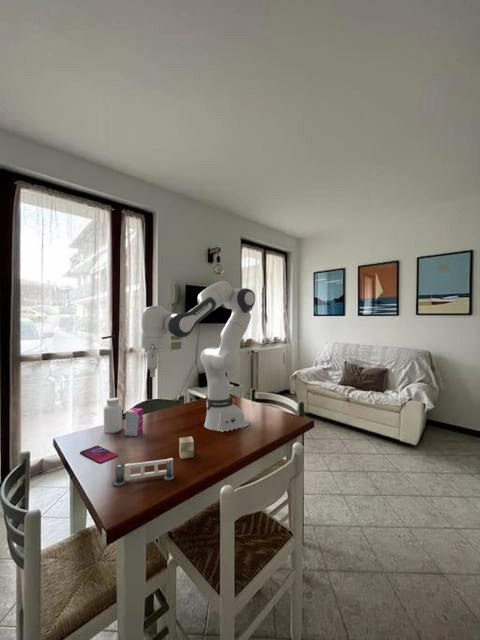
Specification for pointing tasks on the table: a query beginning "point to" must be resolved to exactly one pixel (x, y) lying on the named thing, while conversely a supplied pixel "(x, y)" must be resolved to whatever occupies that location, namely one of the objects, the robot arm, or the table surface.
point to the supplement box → (134, 422)
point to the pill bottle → (112, 416)
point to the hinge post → (119, 476)
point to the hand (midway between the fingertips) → (152, 376)
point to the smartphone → (98, 454)
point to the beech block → (186, 447)
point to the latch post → (169, 472)
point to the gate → (142, 464)
